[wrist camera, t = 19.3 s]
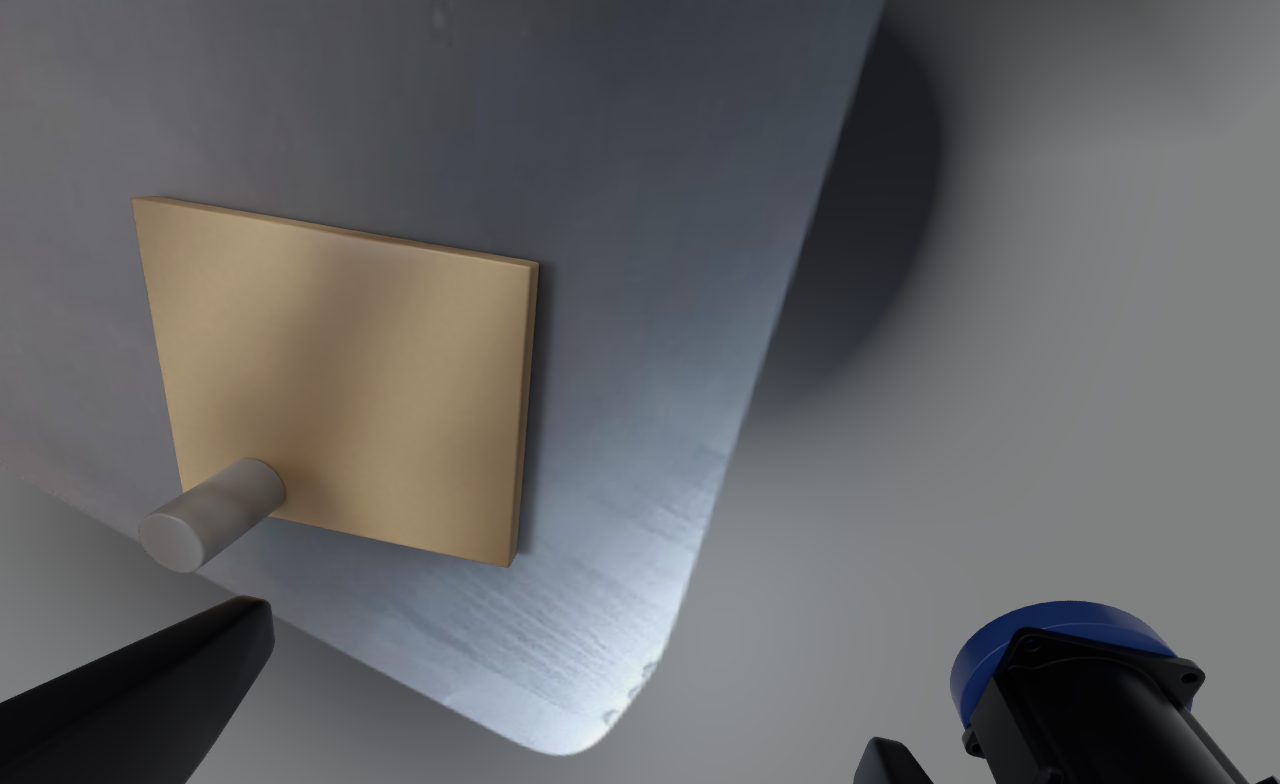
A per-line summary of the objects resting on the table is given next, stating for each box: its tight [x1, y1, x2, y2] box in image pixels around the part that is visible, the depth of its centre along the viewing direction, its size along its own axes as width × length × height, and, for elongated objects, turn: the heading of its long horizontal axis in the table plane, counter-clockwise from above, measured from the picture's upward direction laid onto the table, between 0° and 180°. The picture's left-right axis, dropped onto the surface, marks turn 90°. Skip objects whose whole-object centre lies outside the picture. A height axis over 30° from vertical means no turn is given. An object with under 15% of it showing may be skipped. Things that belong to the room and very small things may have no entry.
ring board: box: [131, 196, 539, 573], centre depth 20 cm, size 14×12×5 cm
